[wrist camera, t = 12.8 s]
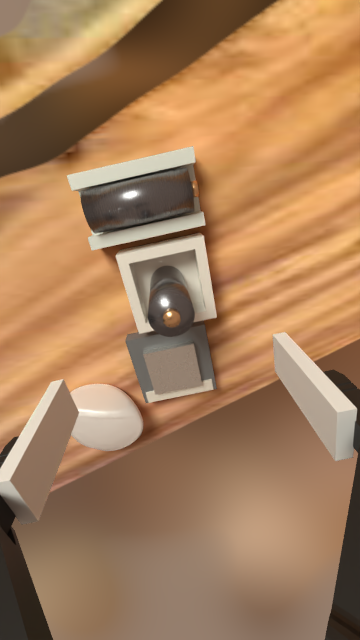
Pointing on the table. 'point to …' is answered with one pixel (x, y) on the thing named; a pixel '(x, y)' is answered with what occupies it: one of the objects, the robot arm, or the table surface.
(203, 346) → the grey square base pad
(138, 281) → the white square tray
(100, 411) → the white rounded lump
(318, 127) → the table surface
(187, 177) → the cell
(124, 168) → the trough
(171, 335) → the cell
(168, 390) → the plate
